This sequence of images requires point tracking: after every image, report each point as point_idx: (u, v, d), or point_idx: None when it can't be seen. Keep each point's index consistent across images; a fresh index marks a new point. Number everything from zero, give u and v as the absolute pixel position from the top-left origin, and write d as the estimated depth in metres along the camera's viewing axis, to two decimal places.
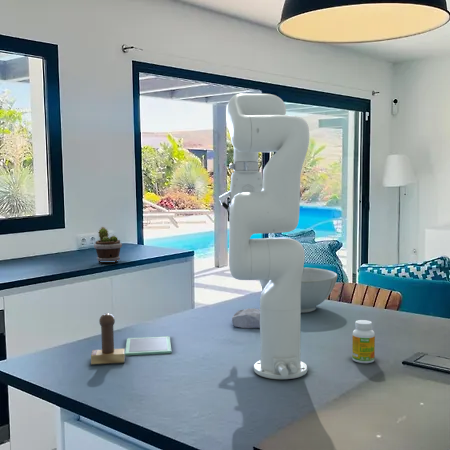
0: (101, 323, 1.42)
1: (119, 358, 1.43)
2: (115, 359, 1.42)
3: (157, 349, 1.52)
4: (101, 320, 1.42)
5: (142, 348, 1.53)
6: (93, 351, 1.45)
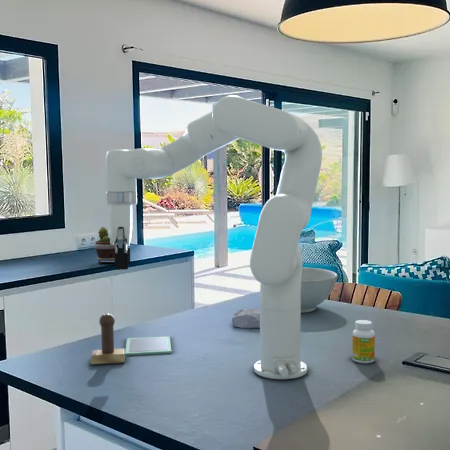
0: (101, 323, 1.42)
1: (119, 358, 1.43)
2: (115, 359, 1.42)
3: (157, 349, 1.52)
4: (101, 320, 1.42)
5: (142, 348, 1.53)
6: (93, 351, 1.45)
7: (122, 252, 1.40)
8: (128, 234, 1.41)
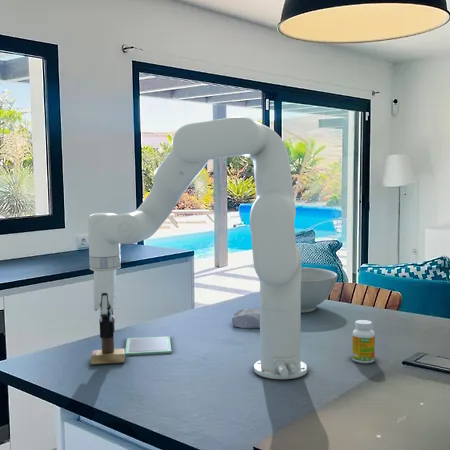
0: None
1: (119, 358, 1.43)
2: (115, 359, 1.42)
3: (157, 349, 1.52)
4: None
5: (142, 348, 1.53)
6: (93, 351, 1.45)
7: (107, 321, 1.40)
8: (112, 300, 1.39)
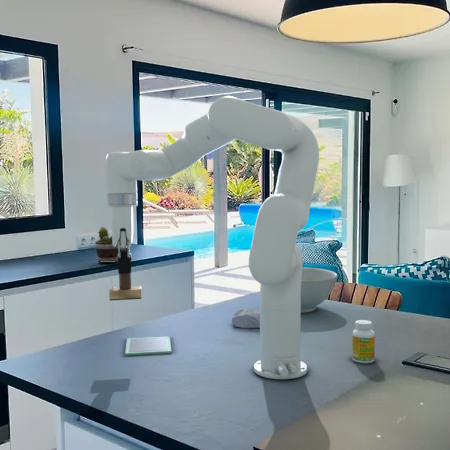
0: None
1: (136, 293, 1.47)
2: (133, 294, 1.47)
3: (157, 349, 1.52)
4: None
5: (142, 348, 1.53)
6: (111, 288, 1.48)
7: (125, 257, 1.44)
8: (130, 235, 1.43)
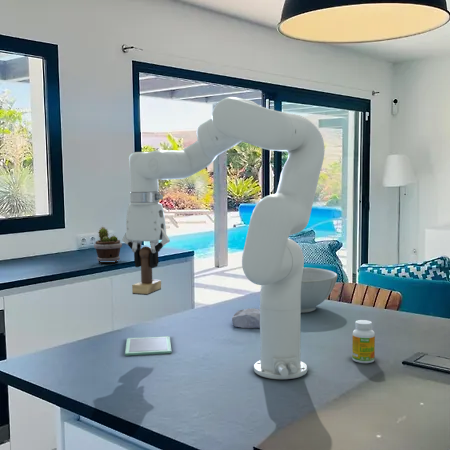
0: None
1: None
2: None
3: (157, 349, 1.52)
4: None
5: (142, 348, 1.53)
6: None
7: None
8: (126, 230, 1.54)
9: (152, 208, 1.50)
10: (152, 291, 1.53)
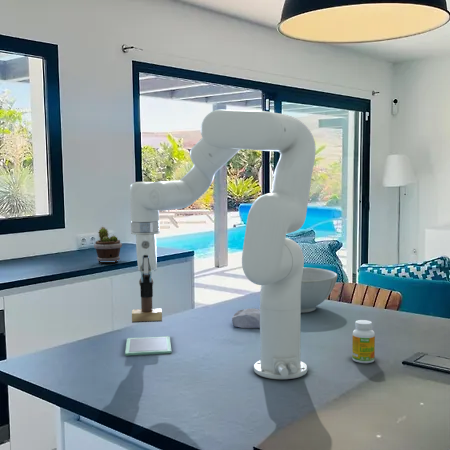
0: None
1: None
2: None
3: (157, 349, 1.52)
4: None
5: (142, 348, 1.53)
6: (160, 310, 1.56)
7: None
8: None
9: (137, 238, 1.50)
10: (142, 320, 1.54)
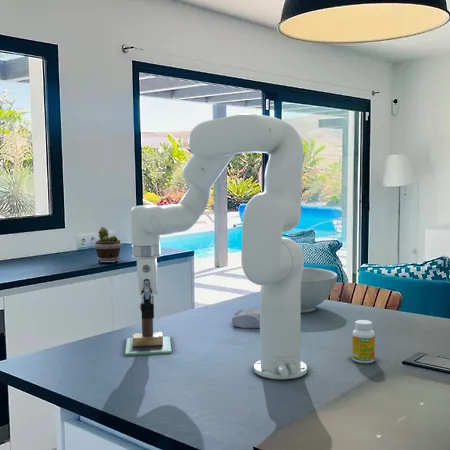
0: None
1: None
2: None
3: (157, 349, 1.52)
4: None
5: (142, 348, 1.53)
6: (161, 334, 1.56)
7: None
8: None
9: (138, 262, 1.51)
10: (143, 345, 1.54)
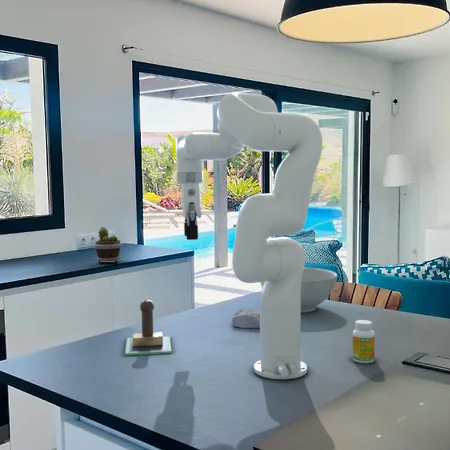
0: None
1: None
2: None
3: (157, 349, 1.52)
4: None
5: (142, 348, 1.53)
6: (161, 334, 1.56)
7: None
8: None
9: (183, 187, 1.62)
10: (143, 345, 1.54)
